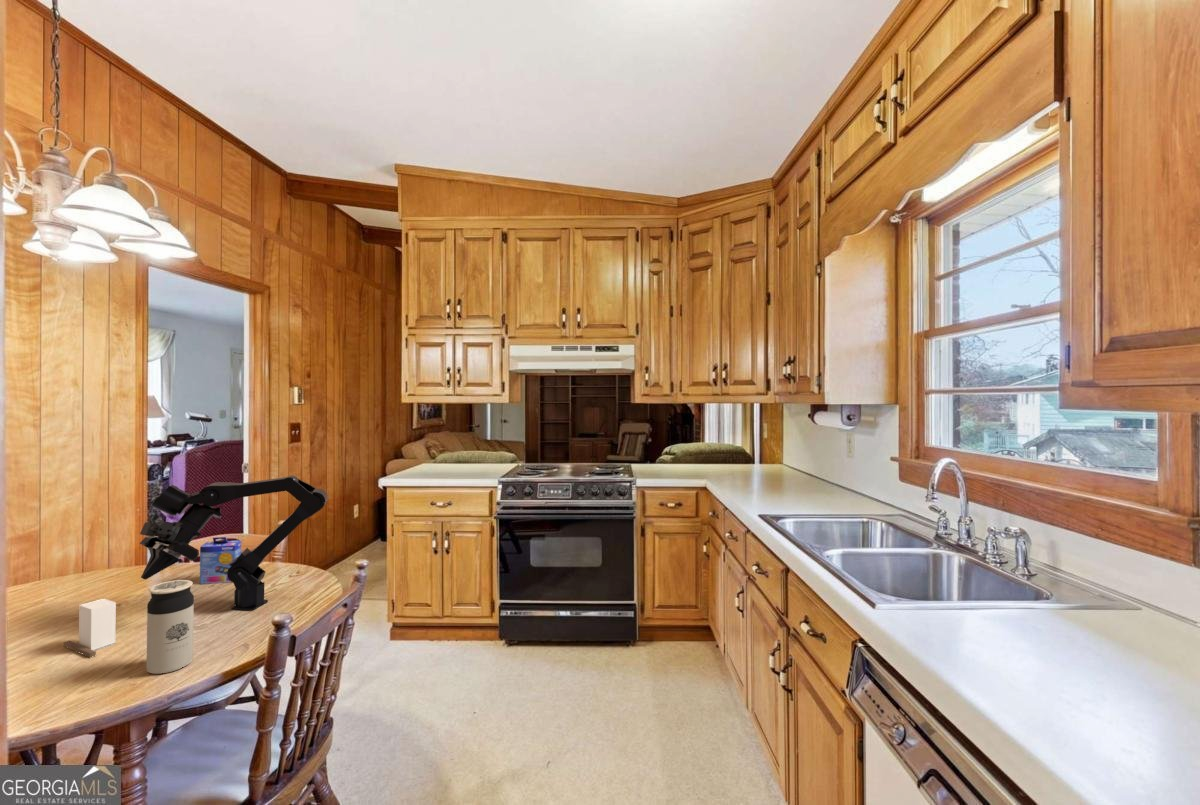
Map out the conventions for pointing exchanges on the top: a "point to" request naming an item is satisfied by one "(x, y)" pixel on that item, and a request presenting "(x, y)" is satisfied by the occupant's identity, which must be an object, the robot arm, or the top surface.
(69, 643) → the strip
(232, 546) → the ink cartridge box
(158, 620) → the beige jar
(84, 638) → the plain white block
